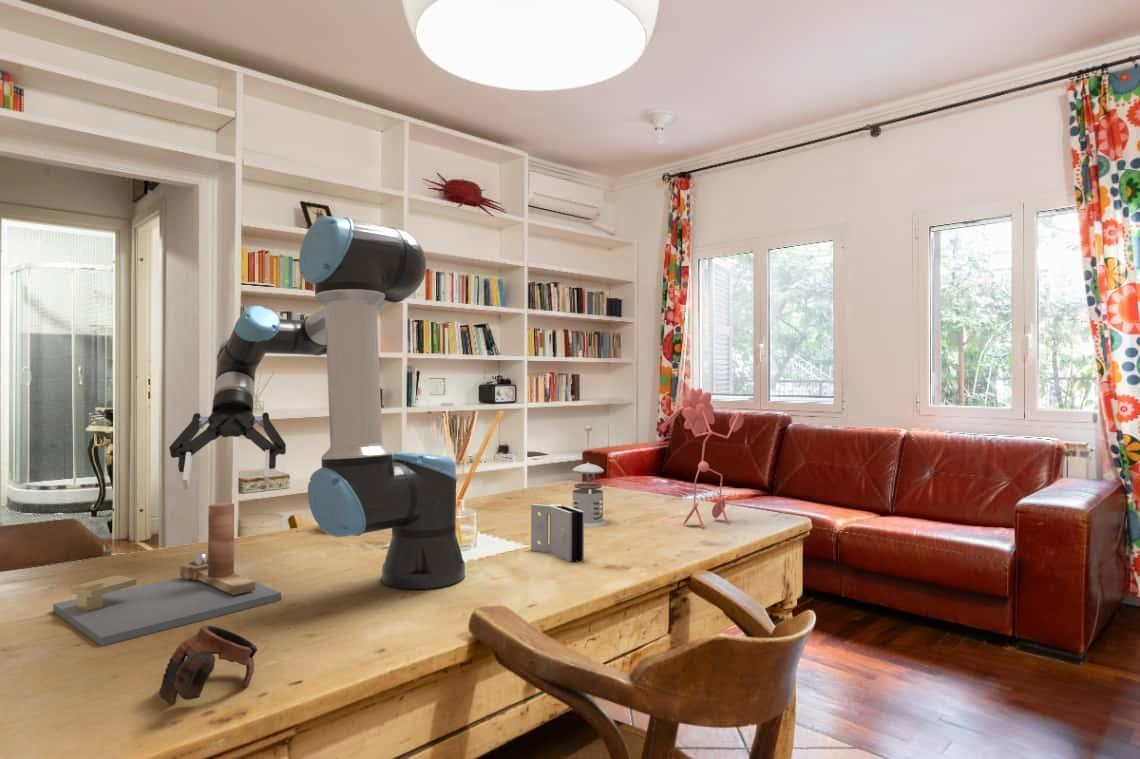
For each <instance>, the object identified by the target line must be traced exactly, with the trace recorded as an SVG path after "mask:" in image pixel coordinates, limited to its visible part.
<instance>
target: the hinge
mask: <svg viewBox="0 0 1140 759" xmlns="http://www.w3.org/2000/svg"><path fill="white" fill-rule="evenodd" d="M530 507H531V509H530V514H531V515H530V524H531V525H530V551H531V552H539V553H540V552H541V553H549V554H550V553H551V554H552V555H554V556H556V557H559V558H561V559H563V560H565V561H567V562H569V563H570V562H571V563H572V562H573V563H577V562H583V561H584V560H585V542H584V541H585V527H584V511H582V510H578V509H575V508H573V506H569V505H563V504H560V503H551V504H549V505H548V504H539V503H537V504H536V503H532V504H531V506H530ZM539 513H540V515H538V514H539ZM538 541H539V542H540V543H539V544H538Z"/></svg>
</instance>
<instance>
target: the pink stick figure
mask: <svg viewBox="0 0 1140 759" xmlns="http://www.w3.org/2000/svg"><path fill="white" fill-rule="evenodd" d="M711 401H712V393H710V392H704V393H703V390H702V388H701V387H699V388H697V389H695V388H694V387H691V388H690V389H689V392H688V397H682V400H681V402H682V406H681V407H679V408H678V409H676V410H675V411H674V412H673V413H672V414H671V415H669V417H668V418H667V419H666V420H665V422H663V424H662V426H660V429H661V430H662V429H664V428H666V427H667V426H668V425H669V424H671V423H672V422H673V421H674V420H675V419H676V418H677V417H678V415H679V414H680V413H681V415H682V417H683V418H684V419H685V421H684V424H683V428H684V429H686V430H690V429H691V431H692V435H694V438H697V437H701V436H705V435H707V436H706V437H705V438H704V439H703V442H702V453H701V461H700V462H699V463H698V464H697V469H698V470H697V472H696V475H695V479H694V487H693V488H694V490H693V492H694V493H693V494H694V496H693V504H692V508H691V509H690V512H689V513H688V514H687V515H686V518H685V520H684V522H683V525H684V526H685V525H686V524H687V522H688V521H689V520H690V518H691V517H693V516H694V515H693V514H694V513H695V512H696V516H697V518H698V521H699V523H700V526H701V529H705V526H704V522H703V521H702V518H701V515H700V512H699V510H698V506H699V503H698V502H696V497H697V494H696V492H697V479H698V476H699V473H700V472H702V473H705V472H708V471H710V472H712V473H714V474H717V475H719V476H720V484H719V497H718V500H717V501H716V502H715V503H714V505H713V507H712V509H711V515H712V516H713V518H714V519H717V518H719V516H721V514H723V517H724V519H725V520H724V521H725V524H726V525H729V524H730V522H729V519H728V517H727V514H726V512H725V509H726V502H725V501H726V500H724V499H722V488H723V487H722V486H723V474H721V473H719V472H717V471H715V470H713V469H711V468H710V465H709V463H708V462H707V461H705V460H704V459H705V458H704V457H705V450H706V449H705V448H706V442H707V441H708V439H709V438H710V436H712V435H715V436H718V437H721V438H724V439H727V440H728V439H729V438H730V437H731V434H732V432H733V433H736V432H737V431H738V430H739V429H740V428H742V426H743V425H744V423H745V422H744V421H745V419H744V418H745V417H744V415H743V414H742V413H741V412H740V411H738V412H736V413H735V414H733V415H732V416H731V417H730V419H729V422H728V425H729V432H728V434H727V435H724V434H720V433H718V432H714V431H713V430H712V429H711V427H710V425H714V424H715V422H716V421H715V420H716V419H715V415H714V413H713V411H714V406H713V405H712V403H710V402H711ZM707 430H708V431H707ZM679 517H680V518H681V517H682V518H683V517H684V515H679V516H678V515H677V518H679ZM673 518H674V519H675V518H676V516H672V517H668V518H666V519H663V521H661V522H662V524H663V523H664V522H665V521H667V520H669V519H673ZM741 520H742V521H745V522H746V521H747V520H746V519H743V518H742V519H741Z"/></svg>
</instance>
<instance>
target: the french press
mask: <svg viewBox="0 0 1140 759" xmlns="http://www.w3.org/2000/svg"><path fill="white" fill-rule="evenodd" d="M592 428H593V427H591V426H590V425H586V426H585V427H584V431H586V432H587V446H589V436H590V435H589V434H590V431H593V430H592ZM571 471H573V472H574V473H575V474H583V475H586V478H587V479H586V480H587V482H586V483H585V482H583V483H582V482H581V483H576V484H573V486H574V488H575V490H572V508H575V509H578V510H582V511H584V528H599V527H603V526H606V525H607V524H608V523H607V522H606V520H605V519H604V491H603V490H601V488H603V486H602V484H600V483H596V479H595V474H601V473H604V472H605V470H604V468H602V467H601V466H599V465H597V464H593V463H590V462H586V463H582V464H579V465H577V466H575V467H573V469H572V470H571ZM589 474H590V475H592V477H589ZM591 479H593V483H590V480H591ZM589 491H591V492H590V493H589Z"/></svg>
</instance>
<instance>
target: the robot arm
mask: <svg viewBox="0 0 1140 759" xmlns="http://www.w3.org/2000/svg"><path fill="white" fill-rule="evenodd" d="M298 264H299V265H298V266H299V272H300V274H301V275H302V279H303V280H304V281H305V282H307V283H309V284H311V285H314V293H315V294H314V297H315V299H316V300H317V301H318V302H319V303H320V304H322V305H321V306H320V307H319V308H317V309H316V310H315V311H314V312H312V313H311V314H310V315H308V316H307V317H305V318H304V319H301V320H300V319H287V318H279V317H278V315H277V314H276V312H274V311H273V310H272V309H270V308H265V307H264V306H262V305H252V306H249V307H246V308H245V309H244V310H243V312H242V313H241V314H240V316H239V317H238V319H237V321H236V322H235V324H234V328H233V330H232V332H231V334H230V337H229V338H228V339H226V340H225V341H223V342H222V343H221V344H220V346H219V350H218V354H216V355H217V356H216V370H215V371H216V373H215V383H214V390H213V400H212V410H211V414H210V415H209V416H201V414H200V413H199V412H196V413H194V414H193V416H192V420H191V421H190V423H189V424H188V425H187V426H186V428H184V430H183V431H182V432H181V433H180V434H179V435H178V436H177V438H175V440H174V441H172V444H171V445H170V446H169V454H170V458H172V459H174V458H178V463H177V468H178V472H179V473H182V474H183V476H182V484H183V489H184V490H188V489H189V488H190V481H191V474H192V465H193V458H192V456H193V455H196V453H197V452H198V451H200V450H202V448H204V447H205V446H207V444H209V443H210V442H212V441H215V440H216V439H218V438H219V437H222V438H229V437H235V438H239V437H241V436H243V437H245V439H247V440H250V441H251V442H252V443H253V444H254V445H256V447H258V448H259V449H260V450H262V451H263V452H264V470H263V472H264V473H263V480H264V486H269V484H270V470H275V469H276V467H277V466H276V463H277V456H278V455H281V456H283V455H286V454H287V449H286V447H287V444H286V442H285V440H284V439H283V438H282V436H281V435H280V434H279V432H278V430H277V429H276V427H275V426H274V425H273V423H272V421H270V414H269V413H268V412H263V413H262V415H259V416H258V415H254V398H255V397H254V396H255V381H256V380H255V379H256V372H257V368H258V366H259V365H260V363H261V361H262V359H263V358H264V357H265V356H266V354H275V355H276V354H281V355H282V354H283V355H287V354H288V355H305V356H308V355H309V356H316V357H317V356H325V355H326V363H327V365H326V370H327V389H328V390H327V394H328V395H327V396H328V416H329V418H328V419H329V439H330V440H329V441H330V442H329V443H330V444H329V445H330V446H329V447H328V450H327V451H326V452H325V453H324V454H322V455H321V457H320V458H321V467H320V468H319V469H316V470H315V471H314V472H313V473H312V474H311V475H310V478H309V481H310V482H309V481H308V483H307V484H308V485H307V499H308V504H309V509H310V512H311V515H312V517H313V519H314V520H315V522H316V523H317V525H318V527H319V528H320V529H321V530H322V531H323V532H324V533H325V534H326V535H329V536H331V537H334V538H344V537H351V536H352V537H359V536H361V535H363V534H368V533H372V532H373V533H374V532H379V531H383V530H388V529H391V538H390V542H389V546H388V549H387V552H386V556H385V560H384V563H383V564H382V567H381V581H382V583H383V584H384V585H386V586H388V587H392V588H396V589H397V588H398V589H404V590H405V589H407V590H428V589H435V588H442V587H448V586H452V585H454V584H456V583H458V582H460V581H462V580H463V579H465V577H466V563H465V560H464V559H463V555H462V554H463V553H462V552H461V548H460V544H459V542H458V538H457V535H456V534H457V533H456V532H457V530H456V525H457V524H456V522H457V521H456V519H457V515H456V514H457V512H456V511H457V509H456V508H457V506H456V505H457V481H458V478H457V470H456V463H455V461H454V460H453V458H451V457H450V456H446V455H445V456H444V455H438V454H437V455H436V454H427V453H414V452H401V451H400V452H398V451H397V452H394V453H393V451H391V450H390V449H389V448H388V447H387V446H386V445H385V444H384V441H383V422H382V421H383V420H382V399H381V379H380V378H381V376H380V375H381V374H380V372H381V371H380V354H379V353H380V350H379V326H378V312H379V311H380V310H382V309H384V307H385V308H386V306H388V305H389V304H397V303H401V302H402V301H404V300H406V299H407V298H409V297H411V295H412V294H414V293H415V292H416V291H417V290H418V288H420V287H421V284H422V282H423V280H424V279H425V276H426V271H427V260H426V255H425V253H424V250H423V248H422V246H421V244H420V243H419V242H418V240H417V239H416V238H414V236H412V235H411V234H410V233H408V232H406V231H404V230H402V229H399V228H396V227H389V226H384V225H380V224H377V223H376V224H375V223H370V222H366V221H360V220H356V219H351V218H349V217H338V216H322V217H320V218H319V219H317V220H315V221H314V222H313V223H312V224H311V226H310V227H309V228H308V229H307V232H306V234H305V236H304V237H303V239H302V243H301V246H300V250H299V259H298ZM255 424H257V425H258V426H259V427H260V428H263V431H264V433H265V435H266V436H267V437H268V438H269V439H267V438H266V436H264V435H263V434H262V433H261V432H259V431H258V430H257V429H256V428H255V427H254V425H255ZM206 425H208V426H207V427H206V429H204V426H206ZM200 429H204V430H203V431H202V432H200V433H199V431H200ZM198 433H199V434H198ZM197 434H198V435H197Z"/></svg>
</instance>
